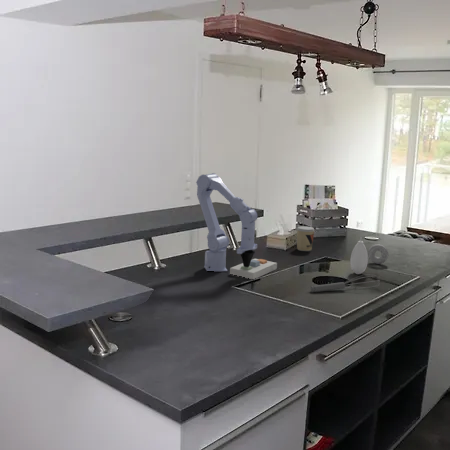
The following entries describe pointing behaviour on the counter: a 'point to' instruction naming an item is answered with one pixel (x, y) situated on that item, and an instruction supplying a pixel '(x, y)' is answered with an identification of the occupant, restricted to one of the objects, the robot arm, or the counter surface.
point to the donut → (383, 251)
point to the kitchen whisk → (337, 285)
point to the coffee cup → (305, 238)
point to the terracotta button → (262, 261)
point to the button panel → (254, 270)
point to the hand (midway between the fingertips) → (246, 266)
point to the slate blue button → (254, 263)
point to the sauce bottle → (359, 258)
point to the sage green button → (246, 268)
